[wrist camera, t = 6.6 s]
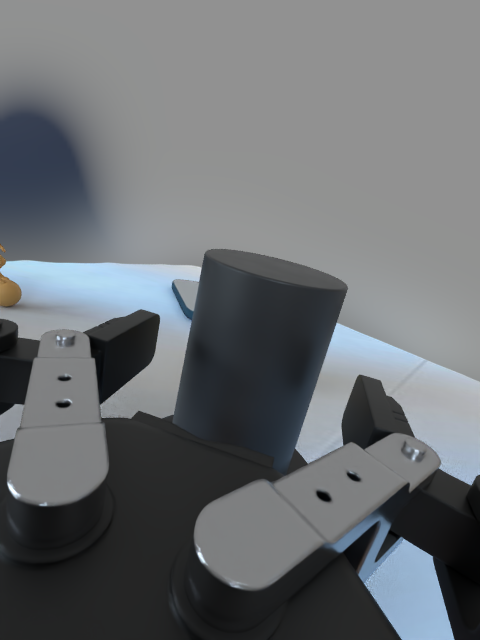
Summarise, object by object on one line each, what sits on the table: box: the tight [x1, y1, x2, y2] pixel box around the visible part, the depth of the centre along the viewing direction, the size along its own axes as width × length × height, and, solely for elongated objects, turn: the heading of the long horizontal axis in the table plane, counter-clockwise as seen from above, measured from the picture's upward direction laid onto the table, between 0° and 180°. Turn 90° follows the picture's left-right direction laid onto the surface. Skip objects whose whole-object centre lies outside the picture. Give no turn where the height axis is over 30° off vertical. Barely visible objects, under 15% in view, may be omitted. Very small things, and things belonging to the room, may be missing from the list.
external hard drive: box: [172, 279, 199, 319], centre depth 73 cm, size 24×12×2 cm, turn 19°
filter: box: [162, 249, 348, 476], centre depth 15 cm, size 10×10×12 cm
